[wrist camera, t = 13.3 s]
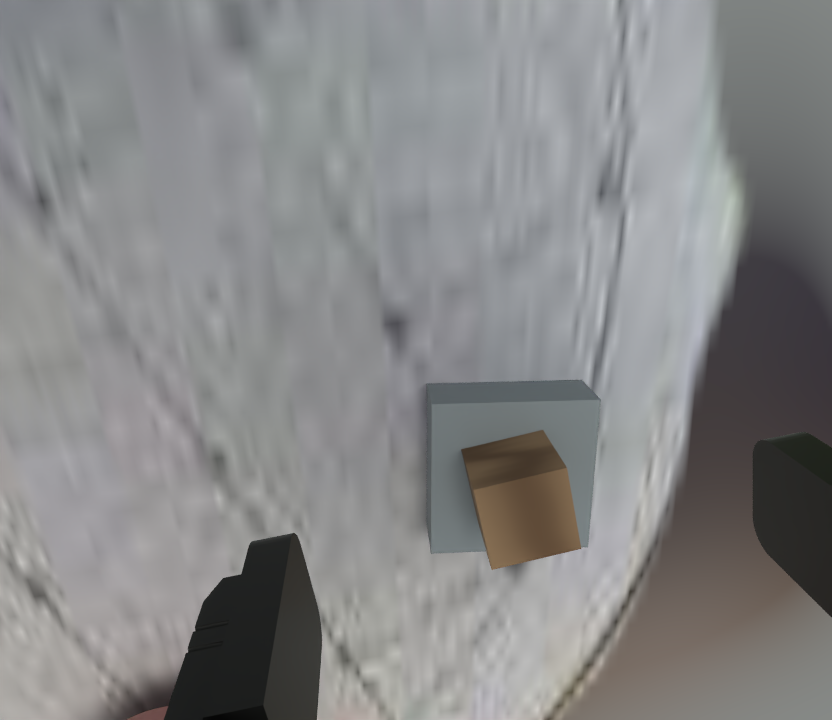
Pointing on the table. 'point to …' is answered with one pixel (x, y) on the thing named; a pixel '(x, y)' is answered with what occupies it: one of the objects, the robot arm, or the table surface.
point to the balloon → (151, 714)
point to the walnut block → (521, 499)
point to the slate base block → (495, 420)
